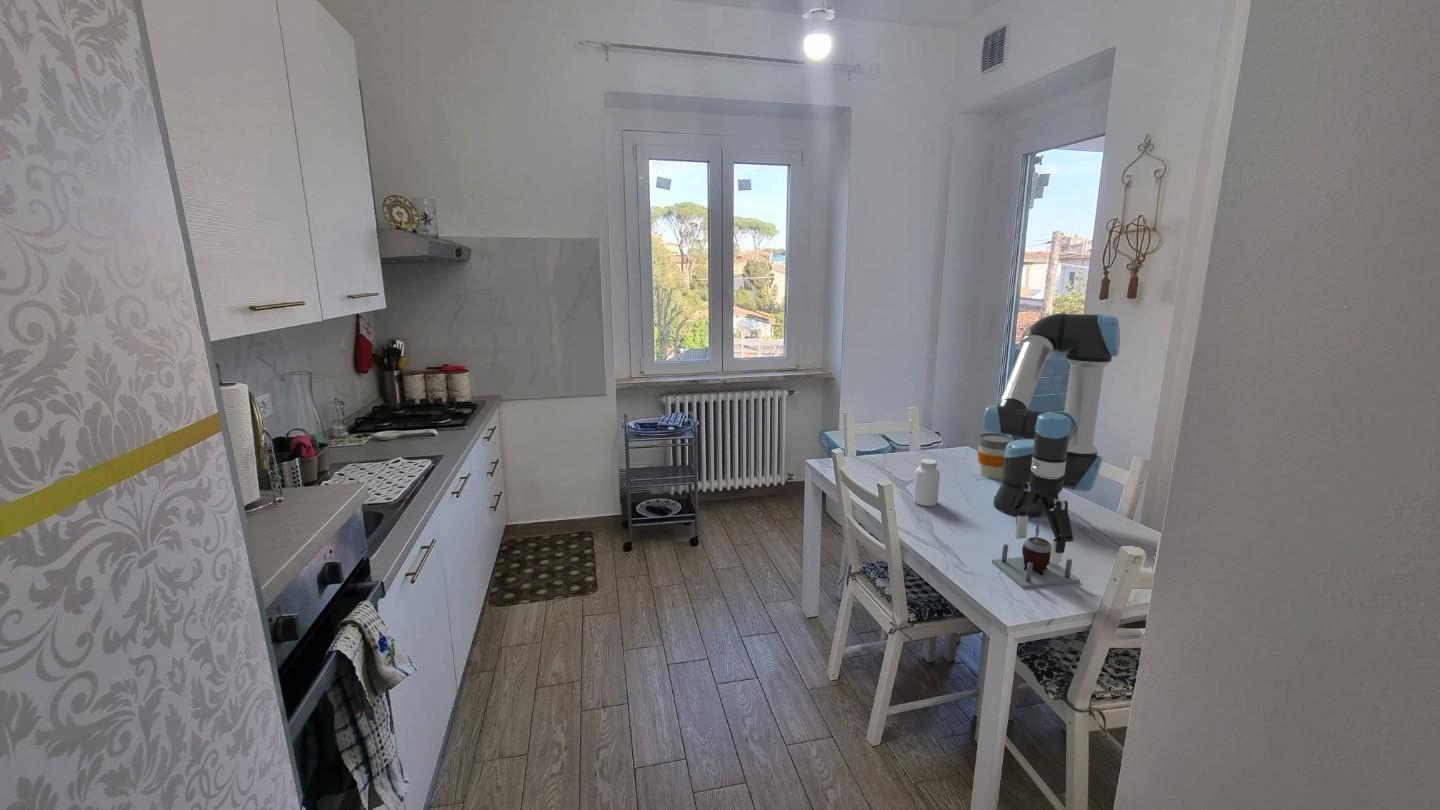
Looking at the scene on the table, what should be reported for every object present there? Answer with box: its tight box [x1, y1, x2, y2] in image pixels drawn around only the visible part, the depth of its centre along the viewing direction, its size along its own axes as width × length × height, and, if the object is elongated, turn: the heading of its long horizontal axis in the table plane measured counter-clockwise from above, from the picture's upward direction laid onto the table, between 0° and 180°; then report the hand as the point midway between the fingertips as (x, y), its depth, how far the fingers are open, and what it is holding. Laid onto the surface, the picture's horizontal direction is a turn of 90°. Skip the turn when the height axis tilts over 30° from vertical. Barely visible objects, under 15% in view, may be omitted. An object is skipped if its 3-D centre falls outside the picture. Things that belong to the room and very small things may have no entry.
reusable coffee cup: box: [977, 432, 1015, 480], centre depth 220 cm, size 12×12×15 cm
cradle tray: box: [991, 543, 1081, 589], centre depth 152 cm, size 16×13×6 cm
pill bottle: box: [912, 458, 941, 507], centre depth 196 cm, size 8×8×15 cm
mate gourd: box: [1021, 524, 1052, 575], centre depth 150 cm, size 8×8×15 cm
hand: (1037, 549), depth 151 cm, fingers open, 13 cm apart
